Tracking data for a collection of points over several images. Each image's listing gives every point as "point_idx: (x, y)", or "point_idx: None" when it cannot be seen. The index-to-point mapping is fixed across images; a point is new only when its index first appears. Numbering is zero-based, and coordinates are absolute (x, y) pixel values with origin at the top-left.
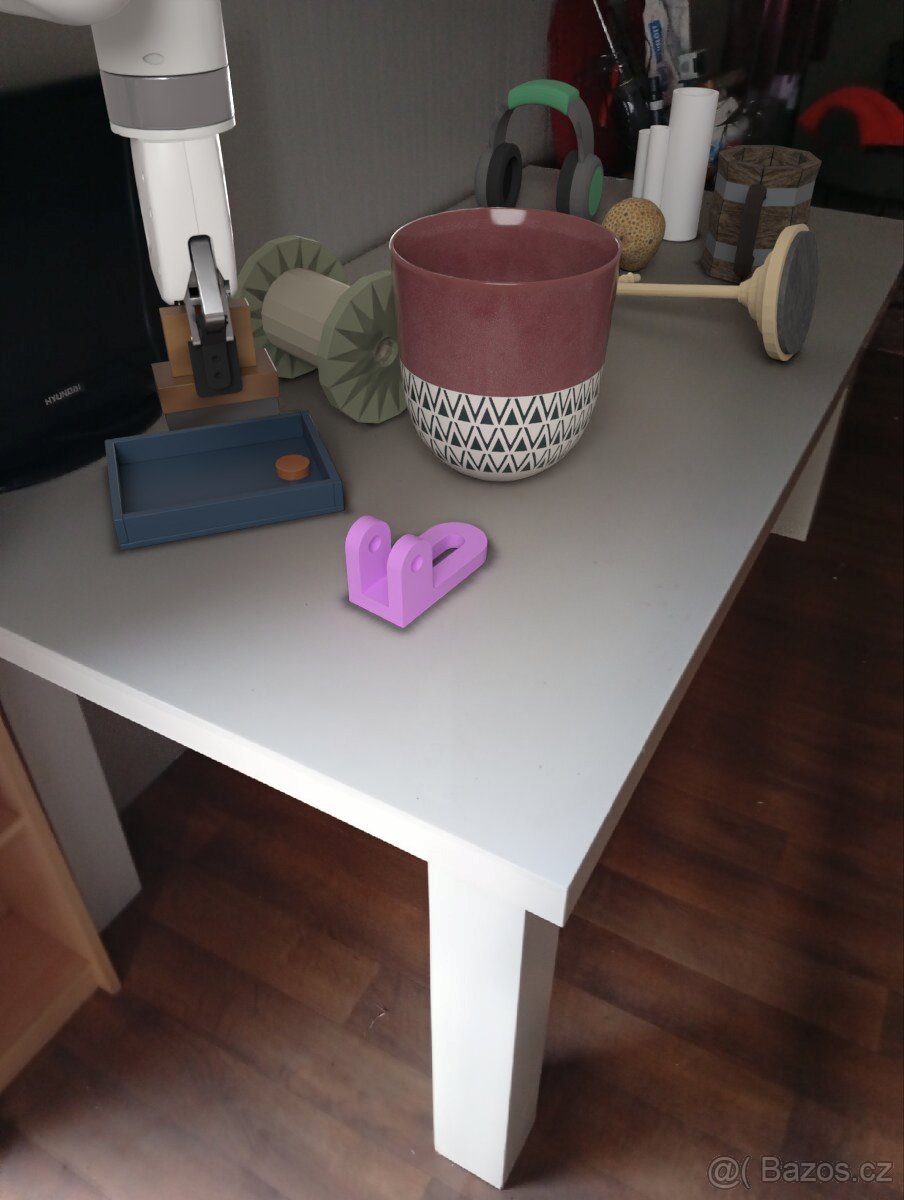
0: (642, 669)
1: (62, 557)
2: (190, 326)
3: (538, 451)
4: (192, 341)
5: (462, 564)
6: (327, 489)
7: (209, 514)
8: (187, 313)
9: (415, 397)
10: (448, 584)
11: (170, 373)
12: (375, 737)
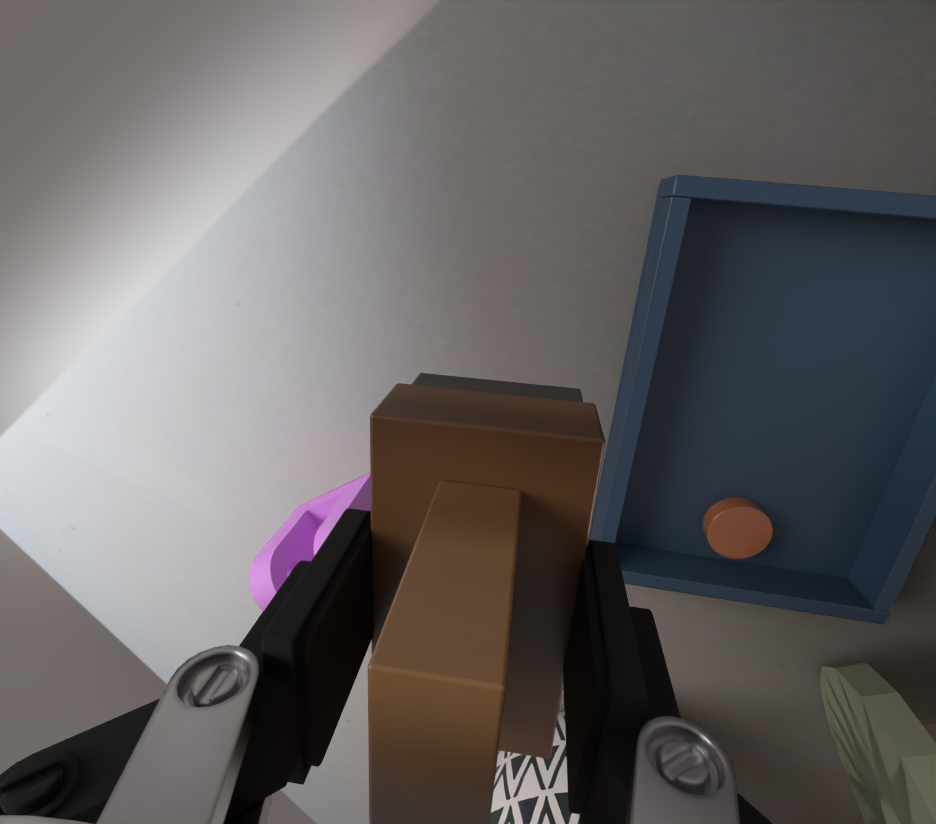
0: (176, 663)
1: (700, 55)
2: (144, 733)
3: None
4: (247, 661)
5: None
6: None
7: (633, 358)
8: (126, 798)
9: None
10: None
11: (477, 480)
12: (132, 409)
